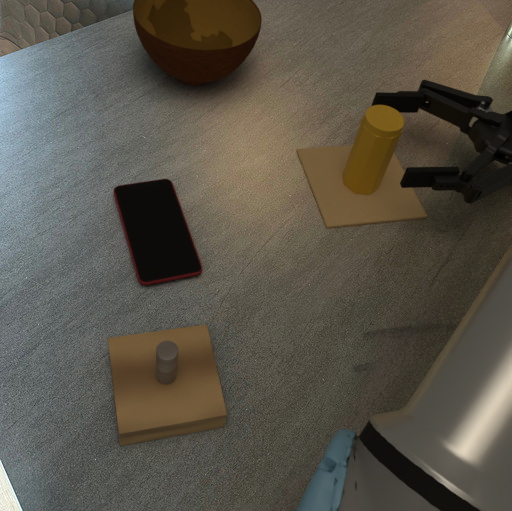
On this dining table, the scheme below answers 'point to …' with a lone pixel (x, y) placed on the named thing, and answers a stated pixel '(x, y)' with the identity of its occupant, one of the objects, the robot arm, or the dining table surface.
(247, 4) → the bowl
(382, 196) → the mat
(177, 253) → the smartphone
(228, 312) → the dining table surface
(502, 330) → the robot arm
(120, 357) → the stand
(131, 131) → the dining table surface
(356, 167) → the jar
